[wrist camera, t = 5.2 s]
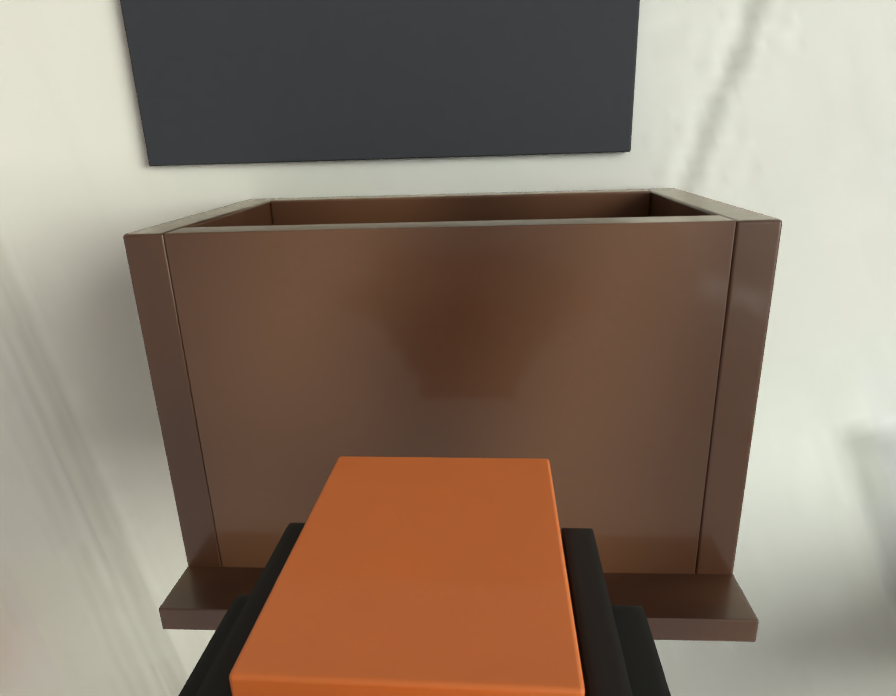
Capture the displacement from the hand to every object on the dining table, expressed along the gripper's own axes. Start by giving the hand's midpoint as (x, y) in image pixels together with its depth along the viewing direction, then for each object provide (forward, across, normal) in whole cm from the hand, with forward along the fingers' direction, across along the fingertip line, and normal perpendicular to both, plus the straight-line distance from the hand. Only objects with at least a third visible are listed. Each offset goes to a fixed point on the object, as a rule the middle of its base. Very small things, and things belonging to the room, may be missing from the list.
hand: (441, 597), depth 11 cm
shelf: (+18, +1, 0) cm, 18 cm away
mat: (+18, +4, -13) cm, 22 cm away
